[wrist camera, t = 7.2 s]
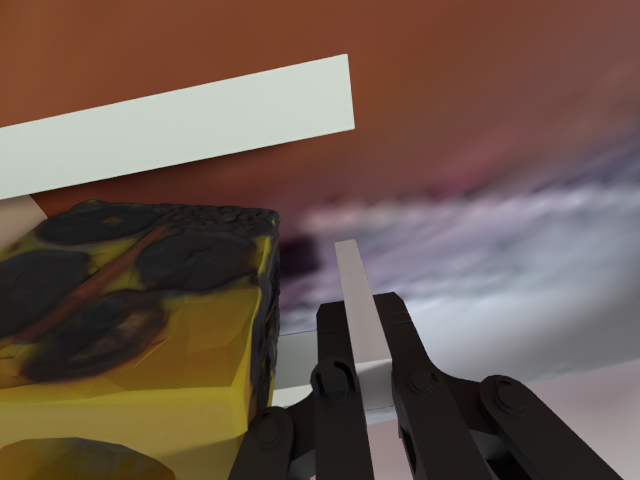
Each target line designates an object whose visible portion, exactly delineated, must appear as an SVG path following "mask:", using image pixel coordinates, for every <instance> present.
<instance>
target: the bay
mask: <svg viewBox="0 0 640 480" xmlns="http://www.w3.org/2000/svg"><path fill="white" fill-rule="evenodd" d="M350 129H355V127H354V117H353V107H352V97H351V87H350V76H349V66H348V56H347V54H343V55H339V56H334V57H329V58H325V59H320V60H315V61H311V62H306V63H301V64H297V65H292V66H287V67H283V68H278V69H273V70H269V71H264V72H259V73H255V74H250V75H245V76H241V77H236V78H231V79H227V80H222V81H217V82H213V83H208V84H203V85H199V86H194V87H190V88H185V89H180V90H176V91H171V92H166V93H162V94H157V95H152V96H148V97H143V98H138V99H134V100H129V101H124V102H120V103H115V104H110V105H106V106H101V107H96V108H92V109H87V110H82V111H78V112H73V113H68V114H64V115H59V116H54V117H50V118H45V119H40V120H36V121H31V122H26V123H22V124H17V125H12V126H8V127H3V128H0V250H2V249H4V248H5V247H7V246H8V245H10V244H12V243H13V242H15V241H16V240H18V239H19V238H21V237H23V236H24V235H25V234H27V233H28V232H29V231H31V230H32V229H34V228H35V227H36V226H37V225H38V224H40V223H41V222H42V221H43V220H45V219H48V217H47V216H46V215H45V213H44V212H43V211H42V210H41V209H40V207H39V206H38V205H37V204H36V202H35V201H34V200H33V199H32V198H31V196H30V195H29V194H31V193H36V192H41V191H46V190H51V189H56V188H61V187H66V186H71V185H76V184H81V183H86V182H91V181H96V180H101V179H106V178H111V177H116V176H121V175H126V174H131V173H136V172H141V171H146V170H151V169H156V168H161V167H166V166H171V165H176V164H181V163H186V162H191V161H196V160H201V159H206V158H211V157H216V156H221V155H226V154H231V153H236V152H241V151H246V150H250V149H255V148H260V147H265V146H270V145H275V144H280V143H285V142H290V141H295V140H300V139H305V138H310V137H315V136H320V135H325V134H330V133H335V132H340V131H345V130H350ZM277 350H278V354H277V363H276V367H275V369H276V374H275V382H274V391H273V399H272V406H279V407H282V406H289V405H294V404H295V403H297V402H299V401H301V400H303V399H304V398H306V397H307V396H308V395H309V394H310V393H311V392H312V390H313V389H312V387H311V384H310V377H311V373H312V371H313V369H314V368H315V366H316V365H317V364H318V351H317V330H315V331H309V332H303V333H297V334H291V335H285V336H279V337H278V343H277Z"/></svg>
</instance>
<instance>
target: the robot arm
mask: <svg viewBox="0 0 640 480" xmlns="http://www.w3.org/2000/svg"><path fill="white" fill-rule="evenodd" d="M335 249H336V255H337V261H338V267H339V273H340V279H341V285H342V291H343V297H344V301H338V302H331V303H325V304H321V305H320V307H319V309H318V312H317V314H316V321H317V351H318V364H317V365H316V366H315V368H314V369H313V371H312V373H311V377H310V384H311V387H312V389H313V390H312V392H311V393H310V394H309V395H308V396H307V397H306V398H304V399H303V400H301V401H299V402H297V403H295V404H294V405H292V406H290V407H288V408H286V409H284V408H282V407H279V406H269V407H267V408H265V409H263V410H261V411H260V412H259V413H258V414H257V415H255V416H254V417H253V419H252V421H251V422H250V424H249V426H248V431H246V433H245V435H244V438H243V441H242V443H241V446H240V448H239V451H238V453H237V456H236V459H235V461H234V464H233V466H232V469H231V471H230V474H229V477H228V479H227V480H310V478H311V477H312V476H314V475H316V480H374V472H373V466H372V460H371V453H370V447H369V441H368V435H367V424H366V418H365V412H364V410H371V409H379V408H385V407H392V406H394V405H395V409H396V412H397V416H398V433H399V438H402V441H403V444H404V448H405V451H406V455H407V458H408V462H409V465H410V469H411V473H412V476H413V480H623V479H622V478H621V477H620V476H619V475H618V474H617V473H616V472H615V471H614V470H613V469H612V468H611V467H610V466H609V465H608V464H607V463H606V462H605V461H603V459H602V458H600V457H599V456H598V455H597V454H596V453H595V452H594V451H593V450H592V449H591V448H590V447H589V446H588V445H587V444H586V443H585V442H584V441H583V440H582V439H581V438H579V436H578V435H577V434H576V433H574V431H572V430H571V429H570V428H569V427H568V426H567V425H566V424H565V423H564V422H563V421H562V420H561V419H560V418H559V417H558V416H557V415H556V414H555V413H554V412H553V411H552V410H551V409H550V408H548V406H546V404H544V403H543V402H542V401H541V400H540V399H539V398H538V397H537V396H536V395H535V394H534V393H533V392H532V391H531V390H530V389H528V388H527V387H526V386H525V385H523V384H522V383H521V382H519V381H517V380H515V379H513V378H510V377H508V376H502V375H492V376H488V377H486V378H485V379H484V380H483V381H482V382H475V381H470V380H464V379H459V378H455V377H452V376H449V375H447V374H445V373H443V372H442V371H441V370H439V369H438V368H437V367H436V366H435V365H434V364H433V363H432V362H431V360H430V359H429V357H428V355H427V353H426V351H425V348H424V346H423V344H422V342H421V339H420V337H419V335H418V333H417V330H416V328H415V326H414V324H413V322H412V319H411V317H410V315H409V313H408V310H407V308H406V306H405V304H404V301H403V300H402V299H401V298H400V297H399V296H398V295H397V294H396V293H394V292H390V293H384V294H377V295H372V293H371V290H370V286H369V283H368V280H367V277H366V273H365V270H364V267H363V264H362V261H361V257H360V254H359V251H358V248H357V244H356V241H355V239H352V240H346V241H340V242H335Z"/></svg>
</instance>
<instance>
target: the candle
mask: <svg viewBox="0 0 640 480" xmlns="http://www.w3.org/2000/svg"><path fill="white" fill-rule="evenodd" d="M279 223H280V218H279V215H278V213H277V212H275V211H273V210H266V209H260V208H250V209H244V208H241V207H238V206H225V207H222V208H218V207H215V206H203V205H199V206H196V207H195V206H190V205H184V204H180V205H172V204H168V203H165V204H163V205H154V204H147V205H142V204H136V203H106V202H103V201H99V200H94V199H93V200H90V201H86V202H84V203H81V204H78V205H76V206H75V207H73V208H72V211H69V212H65V213H62V214H58V215H55V216H53V217H50V218H48V219H45V220H43V221H42V222H41V223H40V224H38V225H37V226H36V227H35V228H34V229H32V230H31V231H29V232H28V233H27V234H25V235H24V236H23V237H21V238H19V239H18V240H16V241H15V242H13V243H12V244H10V245H8V246H7V247H5V248H4V249H2V250H0V480H227V479H228V477H229V474H230V471H231V469H232V466H233V464H234V461H235V459H236V456H237V453H238V451H239V448H240V446H241V443H242V441H243V438H244V435H245V433H246V431H248V426H249V424H250V422H251V421H252V419H253V417H254V416H255V415H257V414H258V413H259V412H260V411H261V410H263V409H265V408H267V407H269V406H272V399H273V391H274V382H275V374H276V369H275V367H276V363H277V354H278V350H277V343H278V336H279V331H280V324H279V323H280V322H279V319H280V313H279V310H280V309H279V307H278V306H279V304H278V302H279V295H280V290H279V286H280V284H279V274H280V257H279V255H280V252H279V249H278V237H279V233H278V226H279Z"/></svg>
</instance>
